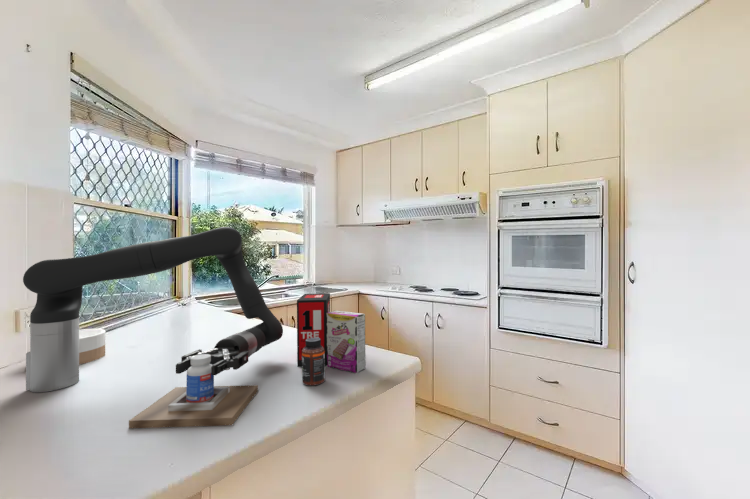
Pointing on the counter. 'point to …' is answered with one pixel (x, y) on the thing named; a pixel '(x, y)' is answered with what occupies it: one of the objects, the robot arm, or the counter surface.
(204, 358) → the pill bottle
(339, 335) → the candy bar box
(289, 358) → the counter surface
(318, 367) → the supplement bottle
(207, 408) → the walnut board
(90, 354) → the bowl
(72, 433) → the counter surface
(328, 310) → the cleaning product box
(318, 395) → the counter surface
